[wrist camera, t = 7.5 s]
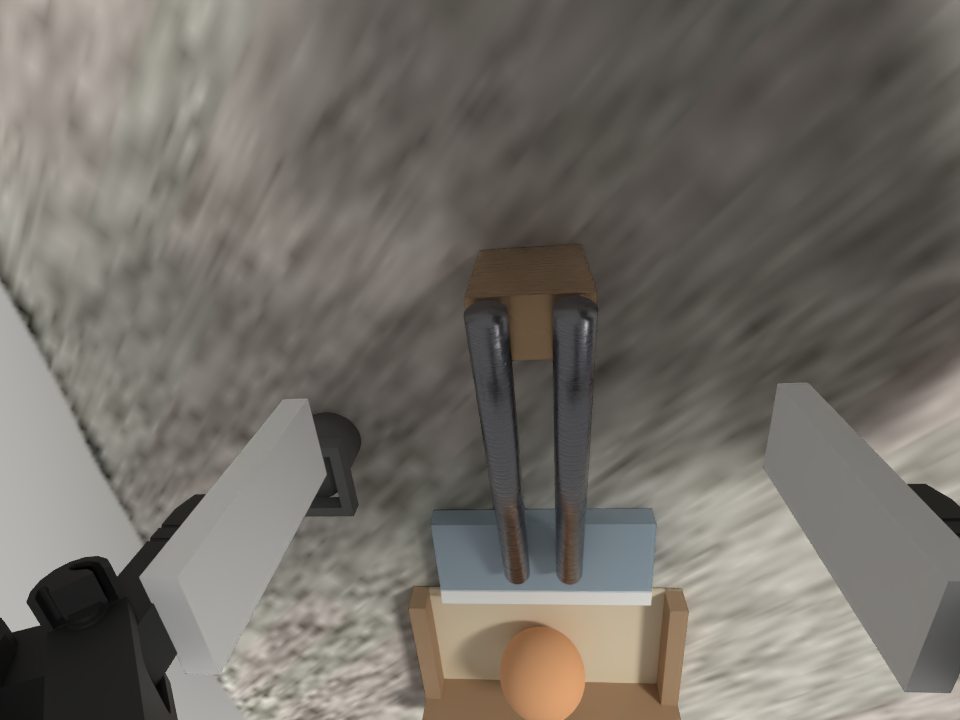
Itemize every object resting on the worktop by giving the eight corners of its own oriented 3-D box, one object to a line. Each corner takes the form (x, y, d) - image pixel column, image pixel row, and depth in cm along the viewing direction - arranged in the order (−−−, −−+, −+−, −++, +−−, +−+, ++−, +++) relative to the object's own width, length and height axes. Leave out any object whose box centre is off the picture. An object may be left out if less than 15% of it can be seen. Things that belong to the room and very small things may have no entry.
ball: (483, 673, 30) (483, 696, 34) (563, 736, 28) (554, 752, 32) (530, 597, 33) (525, 625, 36) (606, 649, 31) (593, 673, 34)
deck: (434, 510, 31) (430, 526, 30) (652, 508, 30) (657, 525, 28) (445, 586, 33) (442, 604, 32) (646, 588, 32) (650, 606, 31)
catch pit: (413, 586, 34) (403, 629, 31) (681, 588, 32) (695, 633, 29) (432, 690, 38) (425, 735, 35) (670, 696, 36) (681, 745, 34)
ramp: (479, 248, 24) (457, 315, 17) (580, 242, 24) (603, 309, 16) (504, 546, 32) (496, 685, 24) (581, 547, 31) (597, 687, 24)
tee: (287, 407, 29) (254, 449, 25) (360, 405, 28) (337, 447, 25) (303, 469, 30) (275, 516, 27) (373, 468, 30) (353, 516, 26)
